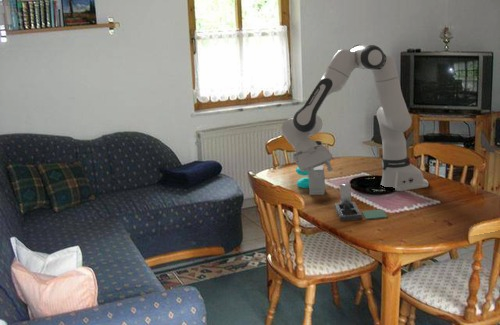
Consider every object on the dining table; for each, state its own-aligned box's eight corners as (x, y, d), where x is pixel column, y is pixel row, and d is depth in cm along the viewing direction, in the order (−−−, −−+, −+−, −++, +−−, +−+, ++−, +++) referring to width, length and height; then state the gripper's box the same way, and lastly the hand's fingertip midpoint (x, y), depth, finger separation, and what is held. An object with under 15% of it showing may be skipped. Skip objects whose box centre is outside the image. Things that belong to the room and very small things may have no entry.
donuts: (291, 167, 300) (307, 163, 305) (293, 186, 303) (308, 181, 308) (303, 171, 292) (319, 166, 297) (305, 190, 295) (320, 185, 300)
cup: (350, 208, 264) (349, 182, 261) (352, 211, 260) (351, 185, 257) (340, 209, 264) (339, 183, 261) (342, 212, 260) (340, 186, 257)
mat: (382, 210, 258) (382, 209, 258) (387, 217, 249) (387, 216, 249) (361, 212, 258) (361, 211, 258) (365, 219, 249) (365, 218, 249)
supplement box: (324, 194, 285) (323, 169, 282) (309, 195, 287) (307, 170, 284) (325, 189, 292) (324, 165, 289) (310, 190, 294) (309, 165, 291)
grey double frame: (354, 205, 267) (354, 201, 266) (361, 219, 250) (361, 214, 250) (334, 207, 267) (334, 203, 266) (340, 221, 250) (340, 216, 250)
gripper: (294, 150, 261) (313, 174, 256) (323, 140, 274) (341, 163, 270) (287, 159, 265) (306, 183, 261) (316, 148, 279) (334, 171, 274)
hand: (324, 172), depth 266 cm, fingers open, 8 cm apart
